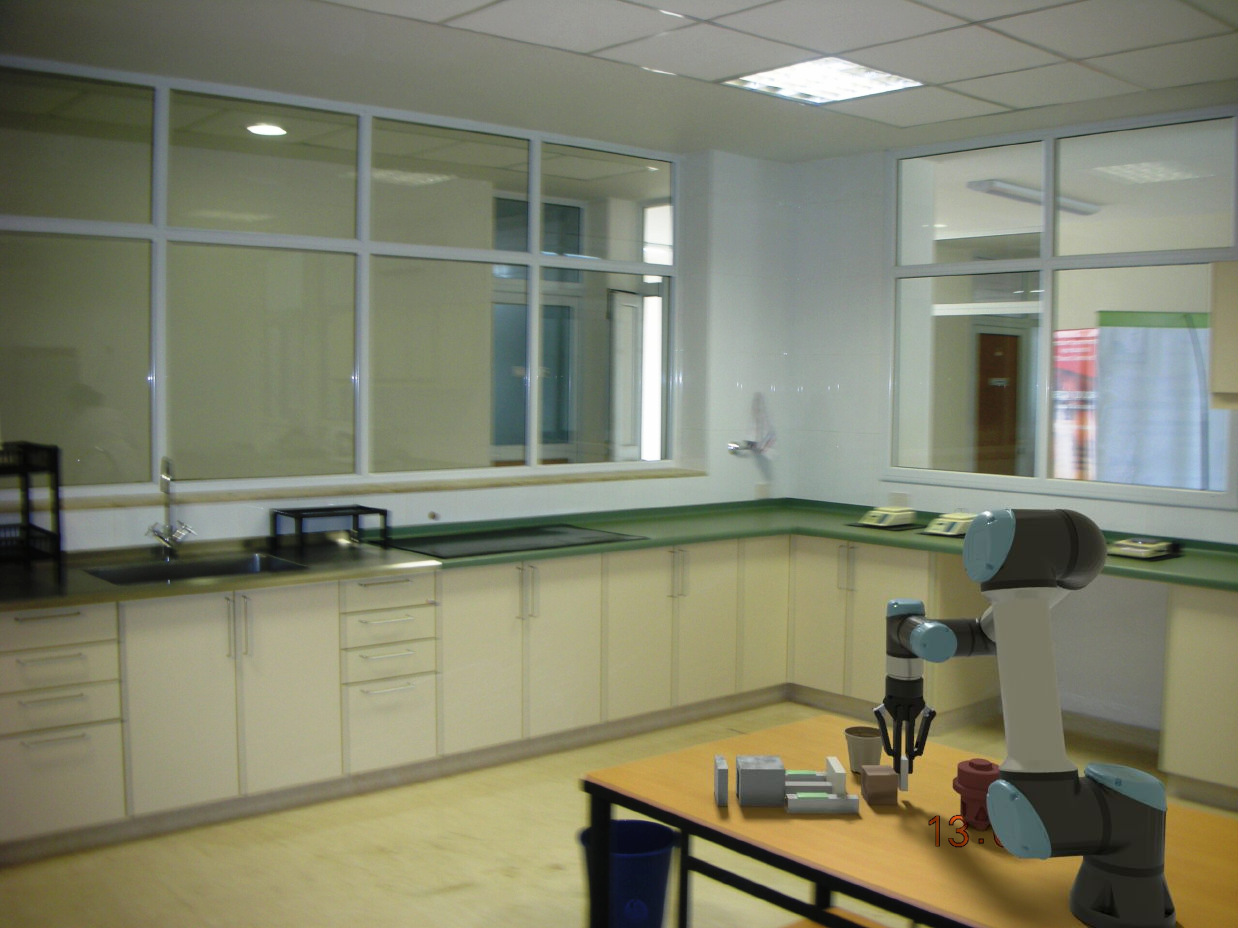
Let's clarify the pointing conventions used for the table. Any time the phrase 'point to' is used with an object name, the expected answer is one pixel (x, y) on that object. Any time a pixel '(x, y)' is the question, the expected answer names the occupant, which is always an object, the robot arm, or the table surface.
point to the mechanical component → (975, 790)
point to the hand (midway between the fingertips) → (902, 788)
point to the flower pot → (863, 746)
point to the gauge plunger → (831, 786)
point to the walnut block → (879, 784)
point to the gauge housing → (777, 787)
